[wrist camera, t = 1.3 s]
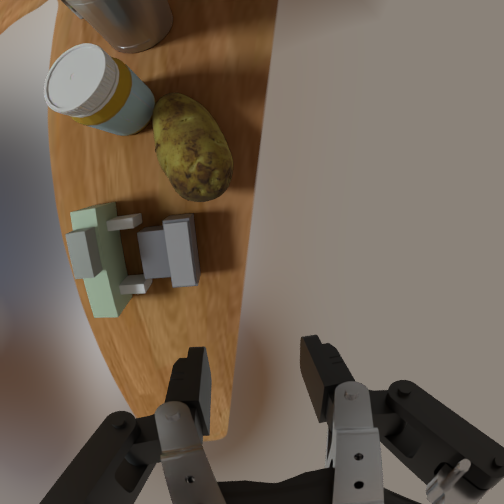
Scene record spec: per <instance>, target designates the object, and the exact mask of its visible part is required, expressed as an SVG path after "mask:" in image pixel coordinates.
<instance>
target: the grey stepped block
mask: <svg viewBox="0 0 504 504" xmlns="http://www.w3.org/2000/svg"><path fill="white" fill-rule="evenodd" d="M162 222H163V225H162V226H153V227H145V228H143V229H142V230H140V231H139V232H137V237H138V243H139V249H140V255H141V260H142V266H143V271H144V276H145V279H151V278H164V277H171V281H172V287H187V286H198V283H199V279H200V275H201V272H200V265H199V257H198V249H197V241H196V232H195V223H194V214H193V213H190V214H180V215H171V216H168V217H167V218H166V219H164V220H163V221H162Z"/></svg>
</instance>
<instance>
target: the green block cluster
mask: <svg viewBox="0 0 504 504" xmlns="http://www.w3.org/2000/svg"><path fill="white" fill-rule="evenodd" d="M70 214H71V221H72V227H73V231H71V232H69V233H67V234H66V240H67V245H68V250H69V254H70V259H71V263H72V268H73V272H74V276H75V279H83V280H84V283H85V287H86V291H87V295H88V298H89V302H90V305H91V308H92V312H93V315H94V318H99V317H119V315H120V314H121V312H122V311H123V309H124V308H125V307H126V305H127V304H128V302H129V301H130V299H131V298H132V294H141V293H146V292H147V290H148V288H149V287H150V285H151V284H152V278H151V279H145V276H144V274H140V275H128V274H127V269H126V264H125V259H124V254H123V248H122V243H121V237H120V231H119V230H123V229H131V228H135V227H136V226H138V225H139V224H141V223H143V222H142V215H141V213H139V214H131V215H124V216H117V210H116V202H111V203H105V204H99V205H94V206H90V207H87V208H83V209H80V210H77V211H74V212H70Z"/></svg>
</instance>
